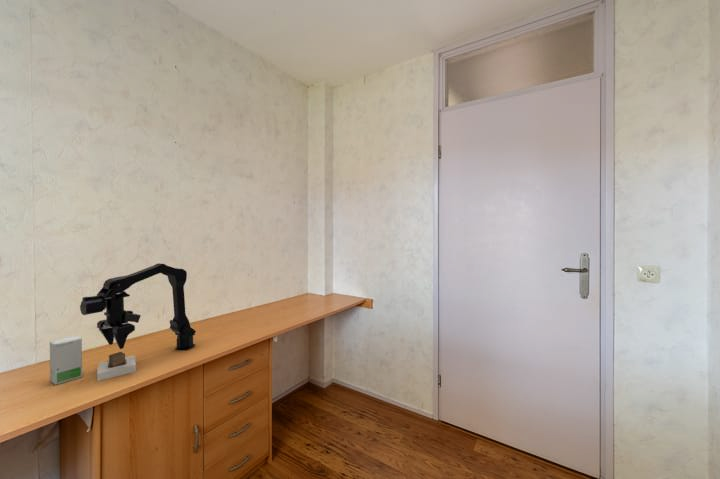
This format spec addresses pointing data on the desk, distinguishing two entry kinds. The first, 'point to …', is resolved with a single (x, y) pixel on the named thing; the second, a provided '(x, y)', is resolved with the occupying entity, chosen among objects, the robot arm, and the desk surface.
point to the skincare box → (65, 359)
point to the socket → (116, 369)
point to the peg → (116, 359)
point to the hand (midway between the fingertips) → (116, 346)
